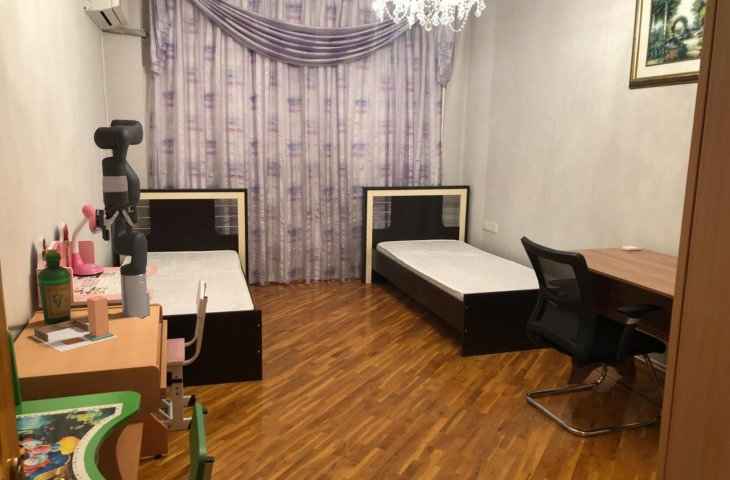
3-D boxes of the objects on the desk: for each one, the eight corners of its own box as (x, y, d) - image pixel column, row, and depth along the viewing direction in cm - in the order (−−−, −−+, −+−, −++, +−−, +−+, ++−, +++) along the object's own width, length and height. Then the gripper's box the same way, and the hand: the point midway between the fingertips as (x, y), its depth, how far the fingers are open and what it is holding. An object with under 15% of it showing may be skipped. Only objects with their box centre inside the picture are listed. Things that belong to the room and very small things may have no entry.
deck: (87, 325, 210) (86, 322, 210) (117, 339, 197) (117, 336, 197) (31, 339, 196) (31, 336, 195) (60, 355, 182) (60, 351, 182)
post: (101, 331, 199) (99, 295, 197) (109, 334, 197) (107, 297, 195) (89, 334, 196) (87, 298, 194) (96, 337, 193) (94, 300, 191)
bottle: (60, 329, 205) (54, 253, 200) (34, 327, 208) (28, 252, 203) (80, 320, 216) (75, 248, 211) (55, 318, 218) (50, 246, 213)
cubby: (76, 325, 207) (76, 319, 206) (89, 331, 201) (88, 324, 201) (34, 335, 196) (34, 328, 195) (46, 341, 190) (46, 335, 190)
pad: (103, 331, 201) (103, 329, 201) (113, 336, 197) (113, 334, 197) (83, 336, 196) (83, 334, 196) (93, 341, 192) (93, 339, 192)
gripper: (125, 187, 193) (128, 234, 196) (88, 190, 181) (91, 240, 183) (141, 189, 189) (143, 236, 192) (103, 192, 177) (106, 243, 180)
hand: (118, 238), depth 188 cm, fingers open, 8 cm apart
